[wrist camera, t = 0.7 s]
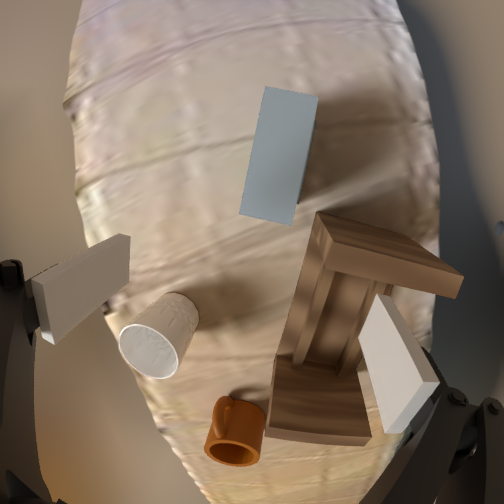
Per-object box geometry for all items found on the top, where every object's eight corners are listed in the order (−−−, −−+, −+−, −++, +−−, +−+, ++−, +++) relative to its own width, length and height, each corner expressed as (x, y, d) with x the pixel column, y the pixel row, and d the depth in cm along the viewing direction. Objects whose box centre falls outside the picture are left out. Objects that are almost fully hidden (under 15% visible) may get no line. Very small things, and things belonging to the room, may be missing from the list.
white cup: (194, 285, 37) (165, 322, 27) (209, 335, 39) (187, 380, 29) (145, 290, 38) (109, 325, 29) (162, 337, 40) (133, 377, 31)
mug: (259, 385, 41) (253, 429, 32) (267, 428, 44) (263, 467, 35) (205, 385, 42) (191, 426, 33) (220, 428, 45) (211, 464, 37)
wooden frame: (316, 211, 32) (334, 242, 19) (405, 236, 31) (464, 276, 18) (273, 361, 39) (264, 436, 25) (350, 374, 38) (364, 446, 25)
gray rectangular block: (274, 115, 29) (265, 86, 18) (310, 123, 29) (322, 97, 18) (257, 198, 33) (239, 214, 21) (293, 206, 32) (294, 226, 21)
